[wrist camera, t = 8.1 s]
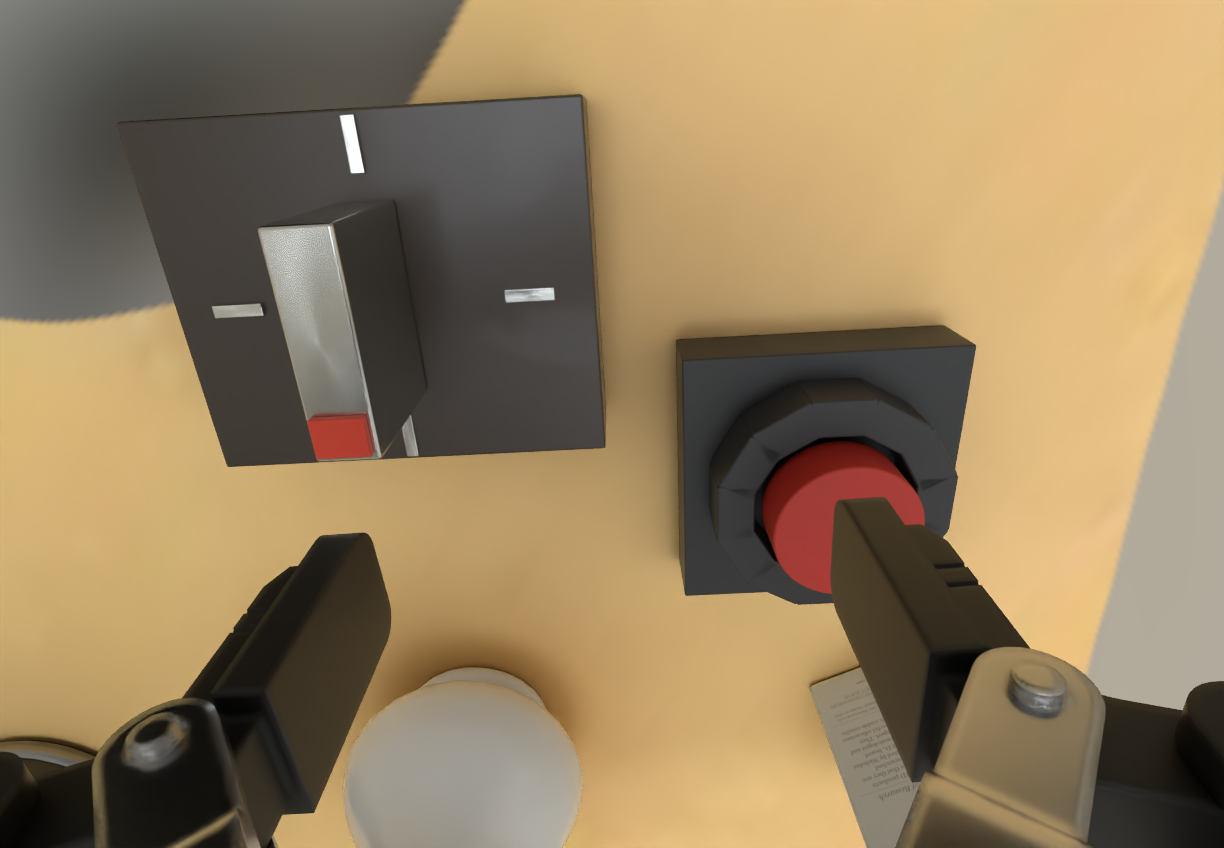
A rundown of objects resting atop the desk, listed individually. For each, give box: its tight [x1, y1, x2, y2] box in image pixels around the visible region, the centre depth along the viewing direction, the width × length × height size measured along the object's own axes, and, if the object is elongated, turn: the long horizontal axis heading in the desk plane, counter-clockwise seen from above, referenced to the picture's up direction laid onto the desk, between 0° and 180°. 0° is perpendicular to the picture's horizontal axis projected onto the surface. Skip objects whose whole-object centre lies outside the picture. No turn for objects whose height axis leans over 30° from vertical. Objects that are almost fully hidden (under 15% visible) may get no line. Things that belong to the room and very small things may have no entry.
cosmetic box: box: [810, 667, 920, 848], centre depth 24 cm, size 6×4×12 cm
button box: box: [676, 326, 976, 605], centre depth 23 cm, size 9×9×4 cm
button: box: [762, 441, 925, 594], centre depth 21 cm, size 4×4×2 cm
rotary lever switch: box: [117, 94, 606, 467], centre depth 21 cm, size 12×10×3 cm
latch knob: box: [258, 200, 427, 461], centre depth 17 cm, size 6×2×5 cm, turn 3°
